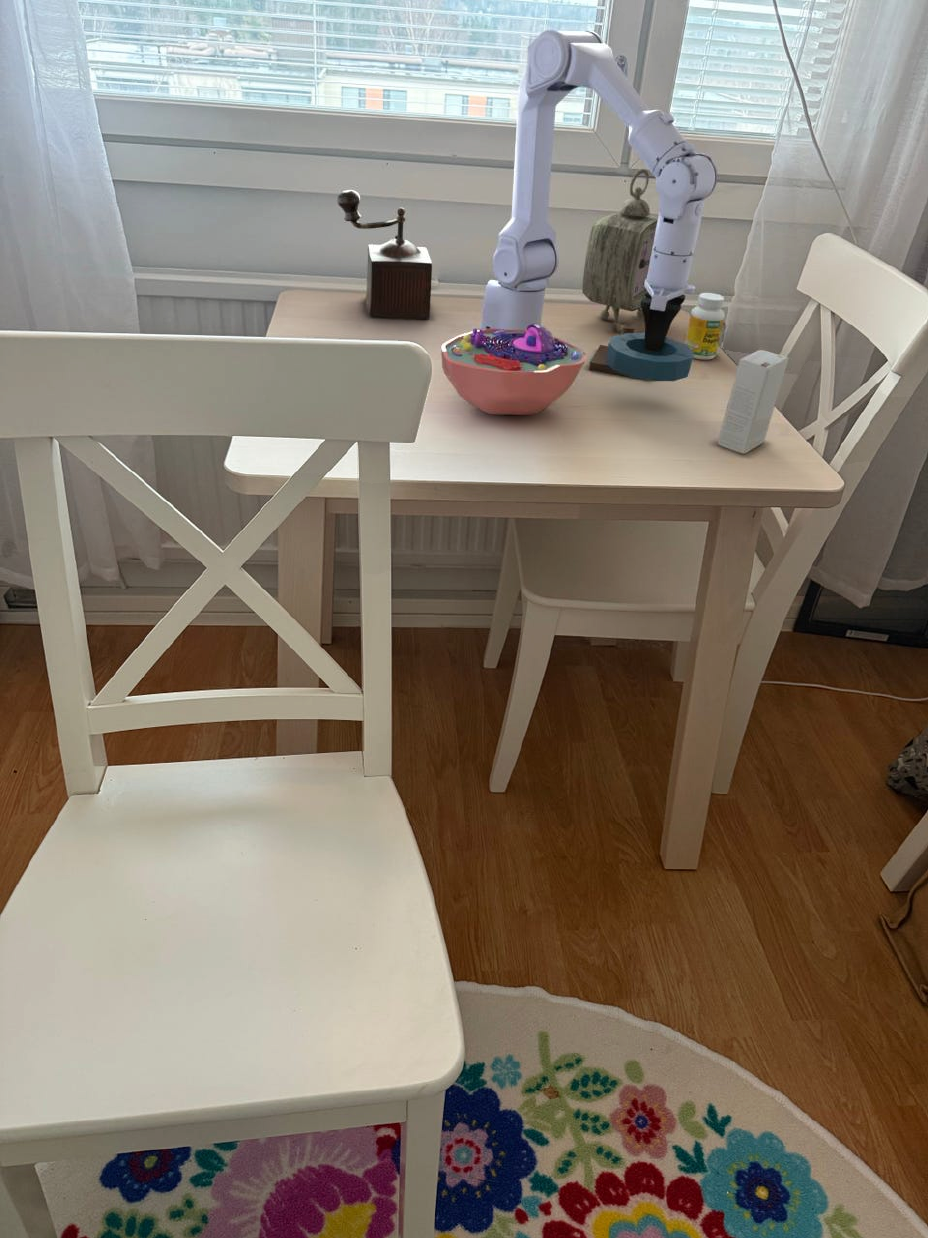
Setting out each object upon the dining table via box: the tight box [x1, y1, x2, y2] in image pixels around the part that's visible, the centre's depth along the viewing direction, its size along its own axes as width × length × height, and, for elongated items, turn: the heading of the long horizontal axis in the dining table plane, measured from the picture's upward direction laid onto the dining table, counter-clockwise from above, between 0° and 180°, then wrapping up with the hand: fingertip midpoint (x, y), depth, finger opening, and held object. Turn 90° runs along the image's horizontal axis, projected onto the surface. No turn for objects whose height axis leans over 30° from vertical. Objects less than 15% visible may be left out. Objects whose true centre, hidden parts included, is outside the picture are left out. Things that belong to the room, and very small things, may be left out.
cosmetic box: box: [717, 349, 789, 455], centre depth 127 cm, size 6×4×12 cm
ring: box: [605, 332, 694, 382], centre depth 138 cm, size 12×12×3 cm
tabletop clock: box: [581, 168, 658, 333], centre depth 165 cm, size 14×9×25 cm, turn 148°
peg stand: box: [588, 324, 636, 377], centre depth 151 cm, size 9×9×6 cm
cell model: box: [440, 324, 588, 416], centre depth 131 cm, size 17×20×11 cm
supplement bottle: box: [684, 292, 726, 361], centre depth 158 cm, size 5×5×10 cm
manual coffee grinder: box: [336, 189, 433, 320], centre depth 162 cm, size 16×11×18 cm
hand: (653, 347), depth 142 cm, fingers closed on ring, 2 cm apart
